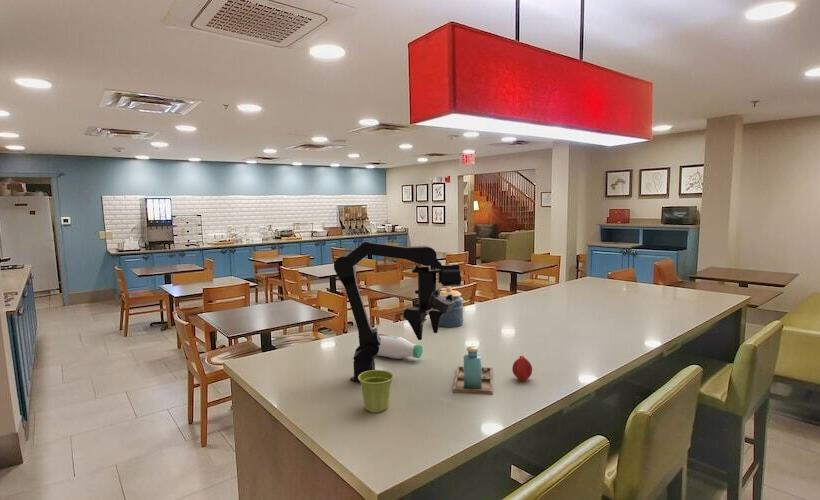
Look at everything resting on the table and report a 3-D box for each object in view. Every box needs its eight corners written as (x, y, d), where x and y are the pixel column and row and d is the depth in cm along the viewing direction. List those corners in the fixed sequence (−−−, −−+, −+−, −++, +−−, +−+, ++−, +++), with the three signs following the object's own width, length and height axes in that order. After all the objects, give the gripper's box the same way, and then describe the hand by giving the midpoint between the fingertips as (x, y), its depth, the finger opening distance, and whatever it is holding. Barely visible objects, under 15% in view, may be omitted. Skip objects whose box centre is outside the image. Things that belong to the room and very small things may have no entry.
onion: (517, 376, 137) (517, 351, 137) (535, 380, 134) (535, 354, 133) (509, 381, 133) (509, 355, 132) (527, 386, 129) (527, 359, 128)
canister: (431, 322, 208) (430, 285, 207) (456, 319, 212) (456, 283, 211) (441, 328, 196) (441, 289, 195) (468, 326, 200) (467, 287, 198)
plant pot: (394, 399, 121) (393, 369, 121) (394, 415, 112) (393, 382, 111) (360, 400, 121) (359, 370, 120) (357, 416, 112) (356, 383, 111)
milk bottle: (370, 358, 161) (418, 367, 152) (363, 343, 157) (412, 352, 148) (380, 342, 167) (427, 350, 157) (373, 328, 163) (421, 335, 153)
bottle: (473, 391, 125) (473, 351, 124) (460, 386, 129) (459, 347, 128) (485, 386, 128) (485, 348, 127) (471, 381, 132) (471, 344, 131)
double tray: (492, 396, 123) (492, 390, 122) (453, 393, 125) (453, 388, 124) (492, 372, 141) (492, 366, 141) (457, 370, 143) (457, 365, 143)
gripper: (433, 293, 123) (434, 348, 125) (464, 284, 139) (464, 332, 140) (401, 290, 130) (402, 342, 131) (434, 282, 145) (434, 328, 146)
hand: (427, 336), depth 137 cm, fingers open, 9 cm apart
